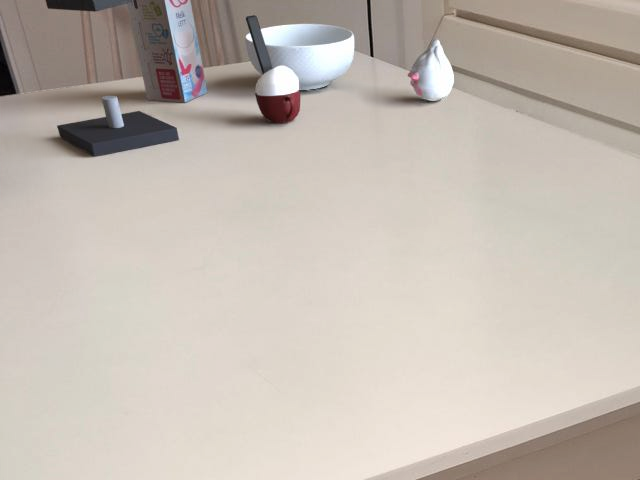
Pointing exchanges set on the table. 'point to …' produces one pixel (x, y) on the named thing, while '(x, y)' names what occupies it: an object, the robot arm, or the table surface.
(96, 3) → the black box
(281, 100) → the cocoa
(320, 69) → the cereal bowl
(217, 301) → the table surface
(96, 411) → the table surface
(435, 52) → the figurine
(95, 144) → the base pad
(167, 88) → the milk carton
